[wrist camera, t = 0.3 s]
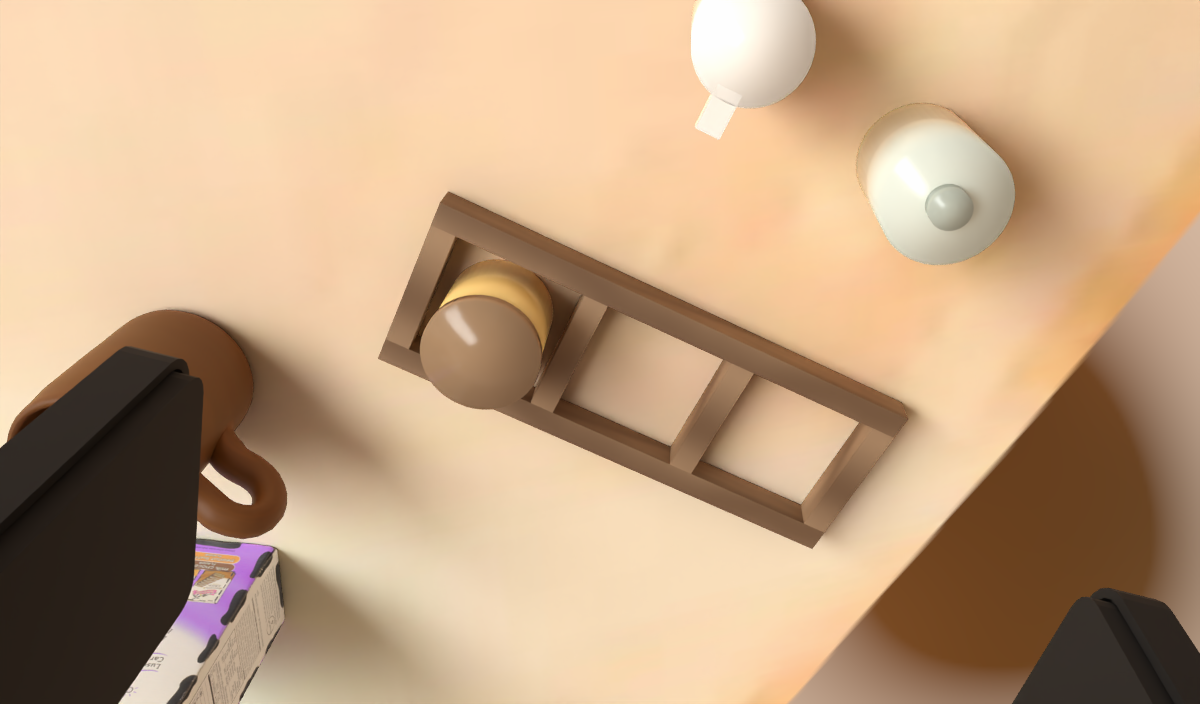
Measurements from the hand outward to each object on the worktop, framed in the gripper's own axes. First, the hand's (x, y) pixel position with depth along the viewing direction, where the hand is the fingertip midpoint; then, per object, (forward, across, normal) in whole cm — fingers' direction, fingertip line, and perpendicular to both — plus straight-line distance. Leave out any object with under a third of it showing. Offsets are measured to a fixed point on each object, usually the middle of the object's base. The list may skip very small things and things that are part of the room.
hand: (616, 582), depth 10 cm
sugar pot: (+34, -12, +2) cm, 36 cm away
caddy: (+34, -3, +15) cm, 38 cm away
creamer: (+34, -3, -2) cm, 34 cm away
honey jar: (+34, +5, +14) cm, 37 cm away
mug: (+35, +18, +22) cm, 45 cm away
